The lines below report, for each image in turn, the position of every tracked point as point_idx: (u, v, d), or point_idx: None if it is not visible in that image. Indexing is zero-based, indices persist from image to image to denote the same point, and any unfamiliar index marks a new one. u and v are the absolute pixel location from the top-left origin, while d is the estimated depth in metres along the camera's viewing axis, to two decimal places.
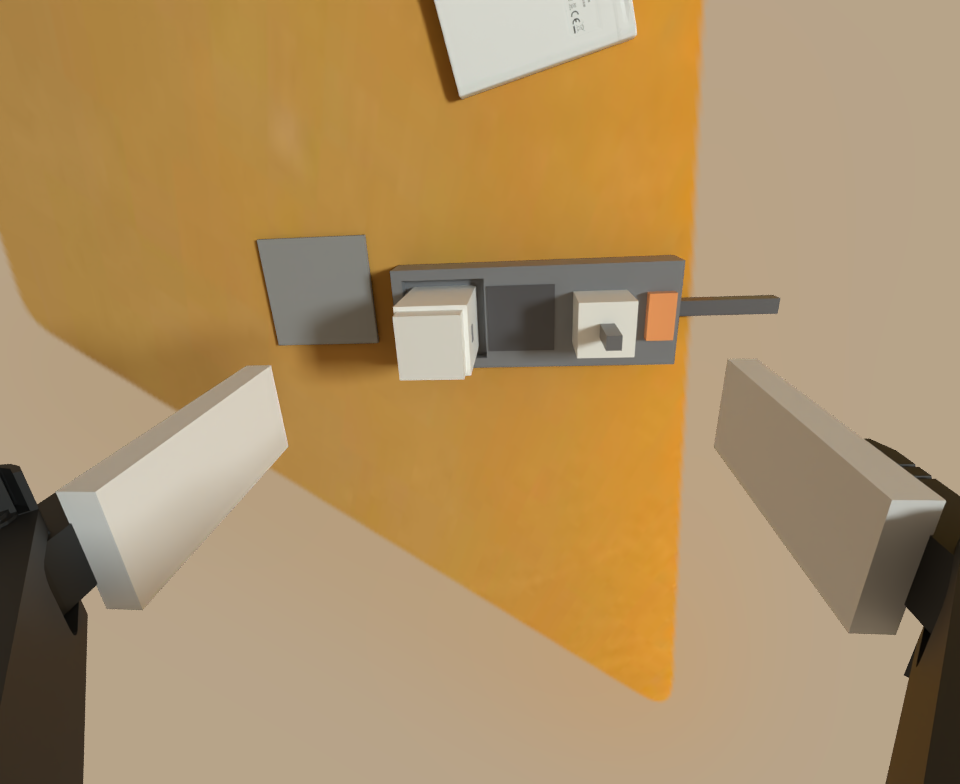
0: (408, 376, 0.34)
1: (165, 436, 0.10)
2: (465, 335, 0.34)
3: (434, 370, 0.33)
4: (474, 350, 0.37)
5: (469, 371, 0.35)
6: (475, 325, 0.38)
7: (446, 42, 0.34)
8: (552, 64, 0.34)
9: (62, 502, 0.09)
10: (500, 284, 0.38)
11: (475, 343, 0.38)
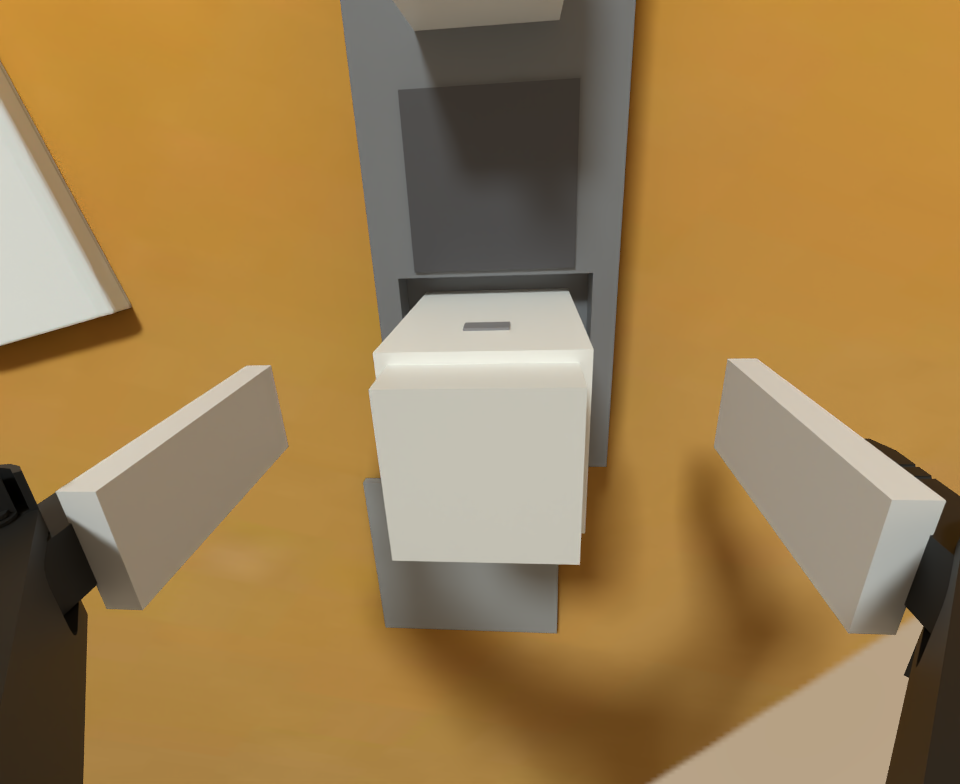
0: (568, 542, 0.11)
1: (165, 436, 0.10)
2: (463, 360, 0.11)
3: (552, 472, 0.11)
4: (549, 315, 0.14)
5: (579, 353, 0.11)
6: (499, 303, 0.16)
7: (42, 331, 0.20)
8: (18, 134, 0.18)
9: (62, 502, 0.09)
10: (408, 238, 0.16)
11: (539, 307, 0.15)
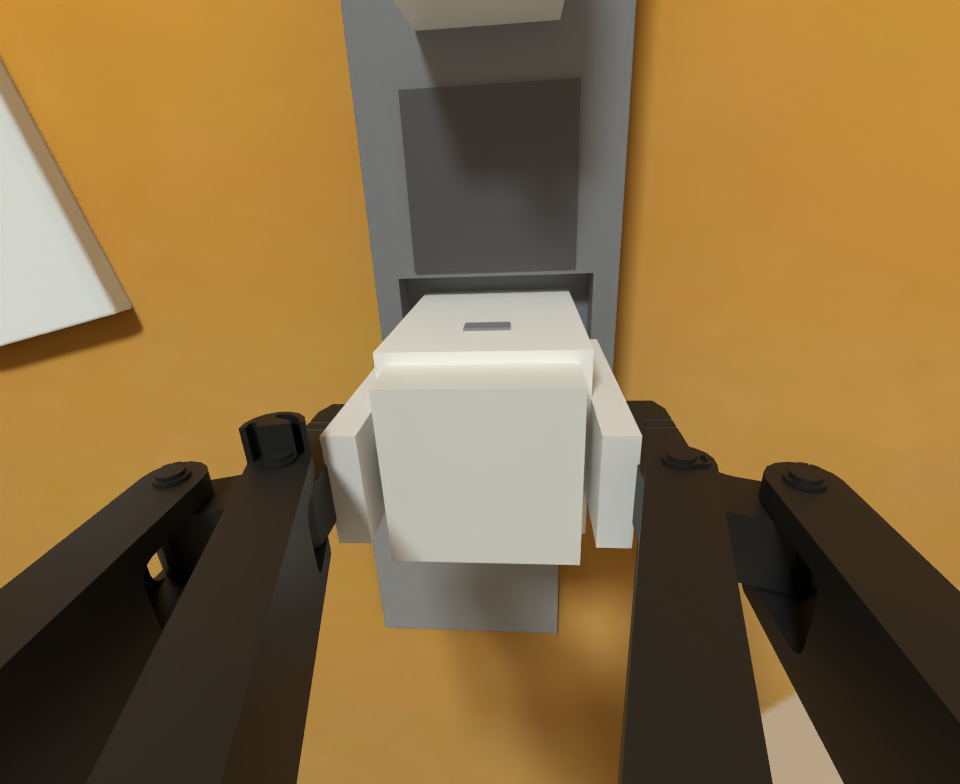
0: (569, 543, 0.11)
1: None
2: (463, 360, 0.11)
3: (551, 473, 0.11)
4: (549, 315, 0.14)
5: (579, 353, 0.11)
6: (499, 303, 0.16)
7: (43, 331, 0.21)
8: (22, 135, 0.18)
9: (324, 446, 0.10)
10: (408, 239, 0.16)
11: (539, 307, 0.15)
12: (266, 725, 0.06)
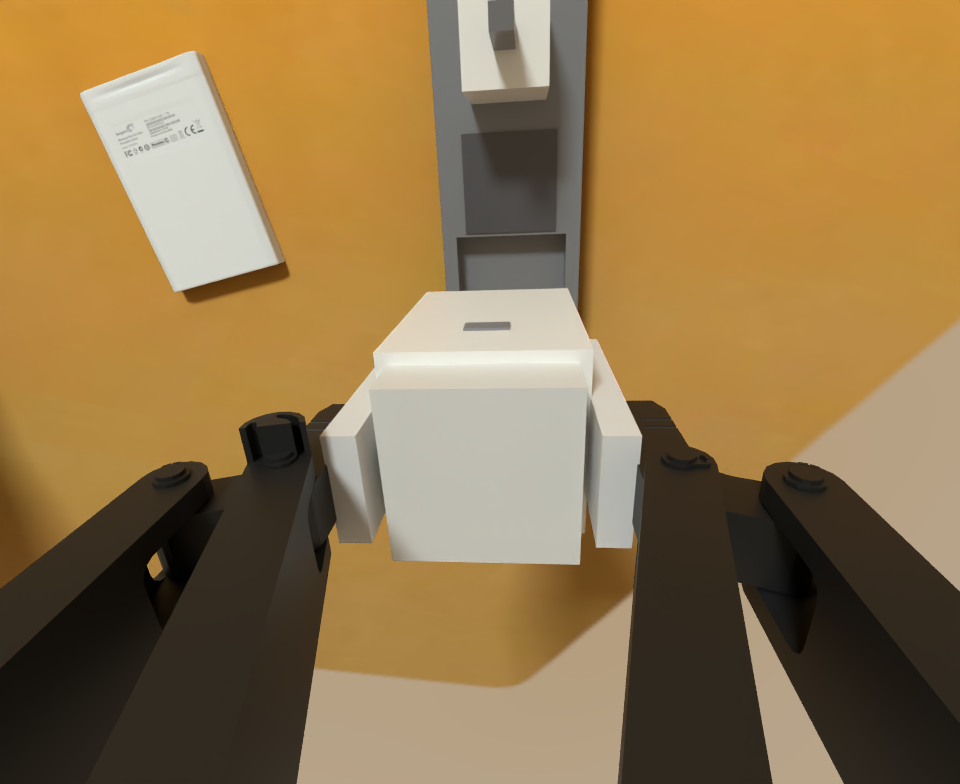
0: (568, 542, 0.11)
1: None
2: (463, 360, 0.11)
3: (551, 472, 0.11)
4: (549, 315, 0.14)
5: (579, 353, 0.11)
6: (499, 303, 0.16)
7: (232, 275, 0.33)
8: (236, 156, 0.31)
9: (324, 445, 0.10)
10: (463, 214, 0.29)
11: (539, 307, 0.15)
12: (266, 725, 0.06)
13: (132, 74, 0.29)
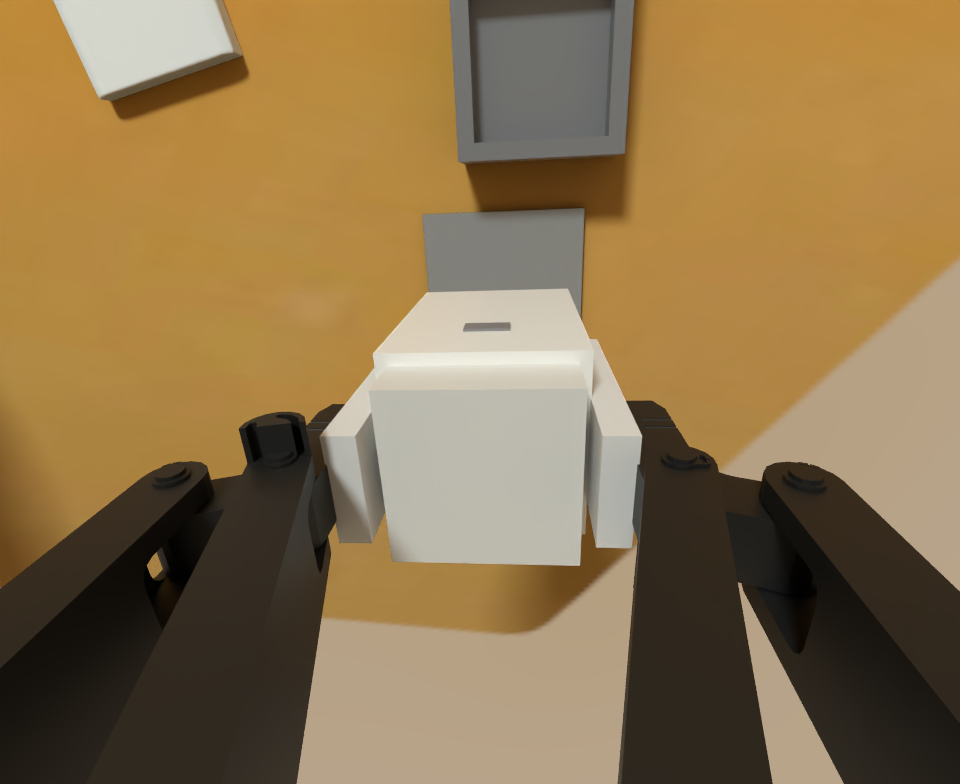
0: (569, 543, 0.11)
1: None
2: (463, 361, 0.11)
3: (552, 473, 0.11)
4: (549, 316, 0.14)
5: (579, 354, 0.11)
6: (499, 303, 0.16)
7: (173, 68, 0.26)
8: None
9: (324, 445, 0.10)
10: None
11: (539, 308, 0.15)
12: (266, 726, 0.06)
13: None
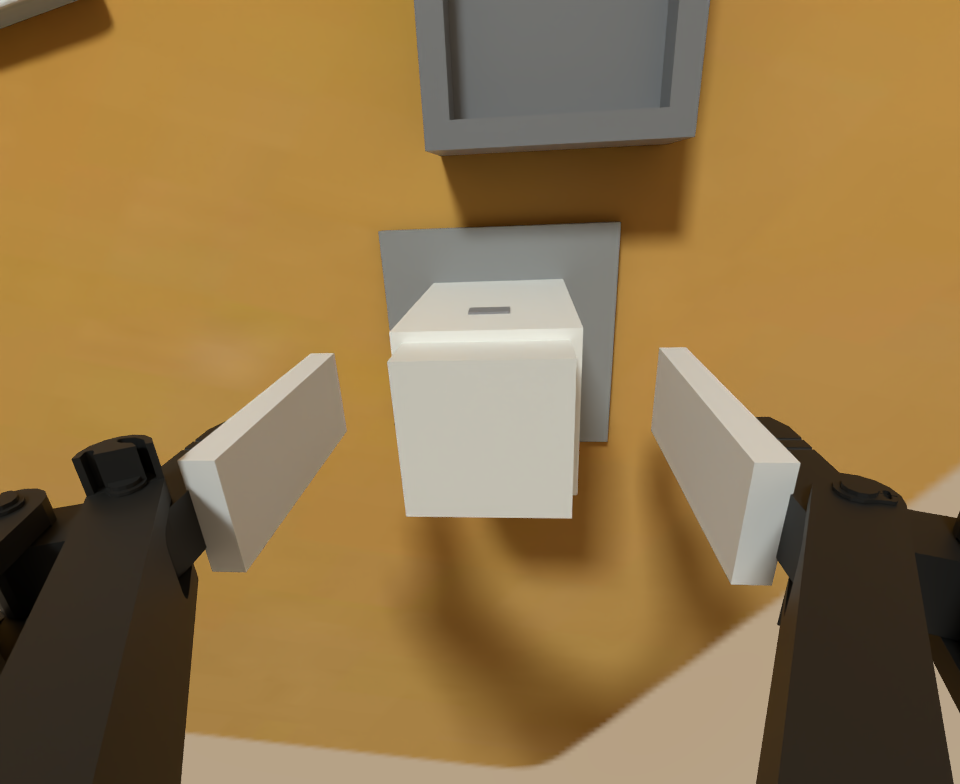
0: (562, 497, 0.13)
1: (259, 414, 0.11)
2: (469, 338, 0.13)
3: (546, 435, 0.12)
4: (545, 301, 0.15)
5: (571, 331, 0.13)
6: (500, 292, 0.17)
7: None
8: None
9: (182, 470, 0.10)
10: None
11: (536, 295, 0.16)
12: (135, 752, 0.05)
13: None
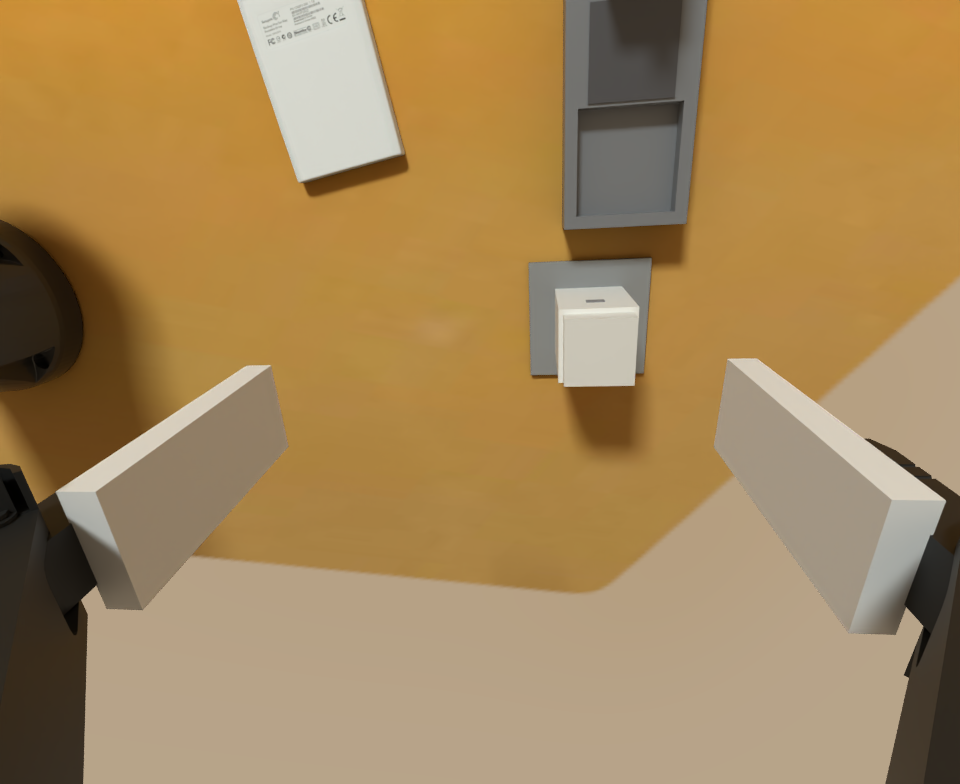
0: (630, 376, 0.31)
1: (165, 436, 0.10)
2: (591, 311, 0.31)
3: (625, 348, 0.31)
4: (618, 297, 0.34)
5: (634, 308, 0.31)
6: (593, 293, 0.36)
7: (356, 164, 0.36)
8: (372, 45, 0.33)
9: (62, 502, 0.09)
10: (586, 84, 0.31)
11: (612, 294, 0.35)
12: None
13: None
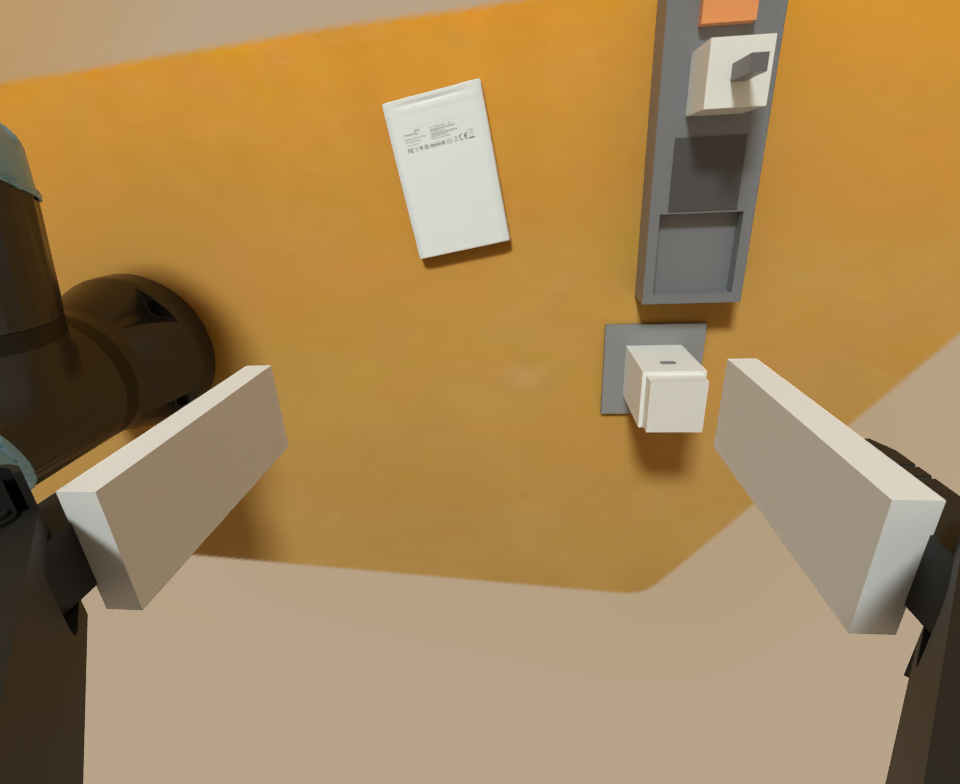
0: (699, 425, 0.40)
1: (165, 436, 0.10)
2: (669, 374, 0.40)
3: (697, 404, 0.39)
4: (684, 358, 0.43)
5: (702, 372, 0.40)
6: (661, 352, 0.44)
7: (472, 247, 0.44)
8: (494, 157, 0.41)
9: (62, 502, 0.09)
10: (667, 197, 0.39)
11: (678, 354, 0.44)
12: None
13: (428, 92, 0.39)
